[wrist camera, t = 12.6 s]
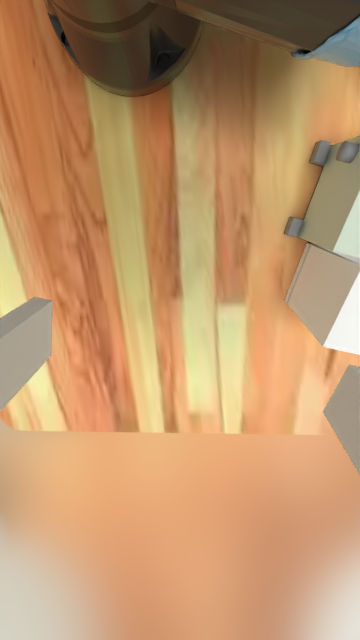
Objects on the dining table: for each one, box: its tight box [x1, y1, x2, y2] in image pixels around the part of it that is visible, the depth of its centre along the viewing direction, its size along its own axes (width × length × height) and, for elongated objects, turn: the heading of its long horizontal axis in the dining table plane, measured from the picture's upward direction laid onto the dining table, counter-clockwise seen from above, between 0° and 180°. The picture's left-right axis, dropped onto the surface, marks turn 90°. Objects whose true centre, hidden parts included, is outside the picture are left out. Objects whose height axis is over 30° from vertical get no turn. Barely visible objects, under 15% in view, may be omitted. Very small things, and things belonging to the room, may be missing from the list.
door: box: [297, 136, 360, 258], centre depth 29 cm, size 10×5×10 cm, turn 168°
